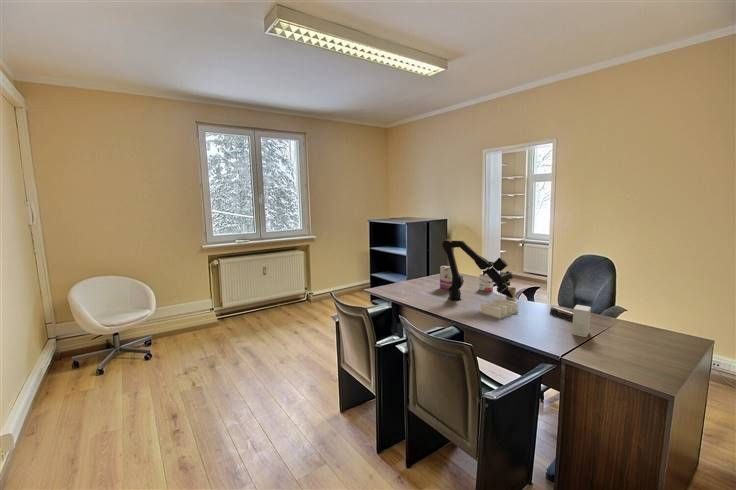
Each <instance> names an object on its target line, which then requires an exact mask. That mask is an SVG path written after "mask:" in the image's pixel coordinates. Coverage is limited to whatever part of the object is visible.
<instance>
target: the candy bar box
mask: <svg viewBox="0 0 736 490" xmlns="http://www.w3.org/2000/svg"><path fill="white" fill-rule="evenodd" d="M439 267H440V268H439V289H441V290H446V291H449V287H450V286H451V285H452V272H451V268H450V265H441V266H439Z"/></svg>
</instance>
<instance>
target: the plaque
mask: <svg viewBox="0 0 736 490" xmlns="http://www.w3.org/2000/svg"><path fill="white" fill-rule="evenodd" d="M508 290H509V291H510V293H511V294H512V296H513V298H510V297H508V296H506V295H505V299H506V300H509V301H513V302H516V296H517V295H516V294H517V292H516V291H517V286H514V285H510V286H508Z"/></svg>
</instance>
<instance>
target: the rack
mask: <svg viewBox="0 0 736 490" xmlns="http://www.w3.org/2000/svg"><path fill="white" fill-rule="evenodd" d="M497 299H498V300H496V299H492V302H491V301H487V302H486V304H485V303H480V310H479V313H480V314H482V315H486V316H488V317H493V318H496V319H498V320H501V319H504V318H506V317H510V316H512V315H514V314H517V313H519V310H518V309H519V302H518V301H517V302H516V301H515V302H513V301H509V300H506V298H502V297H499V298H497Z"/></svg>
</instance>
